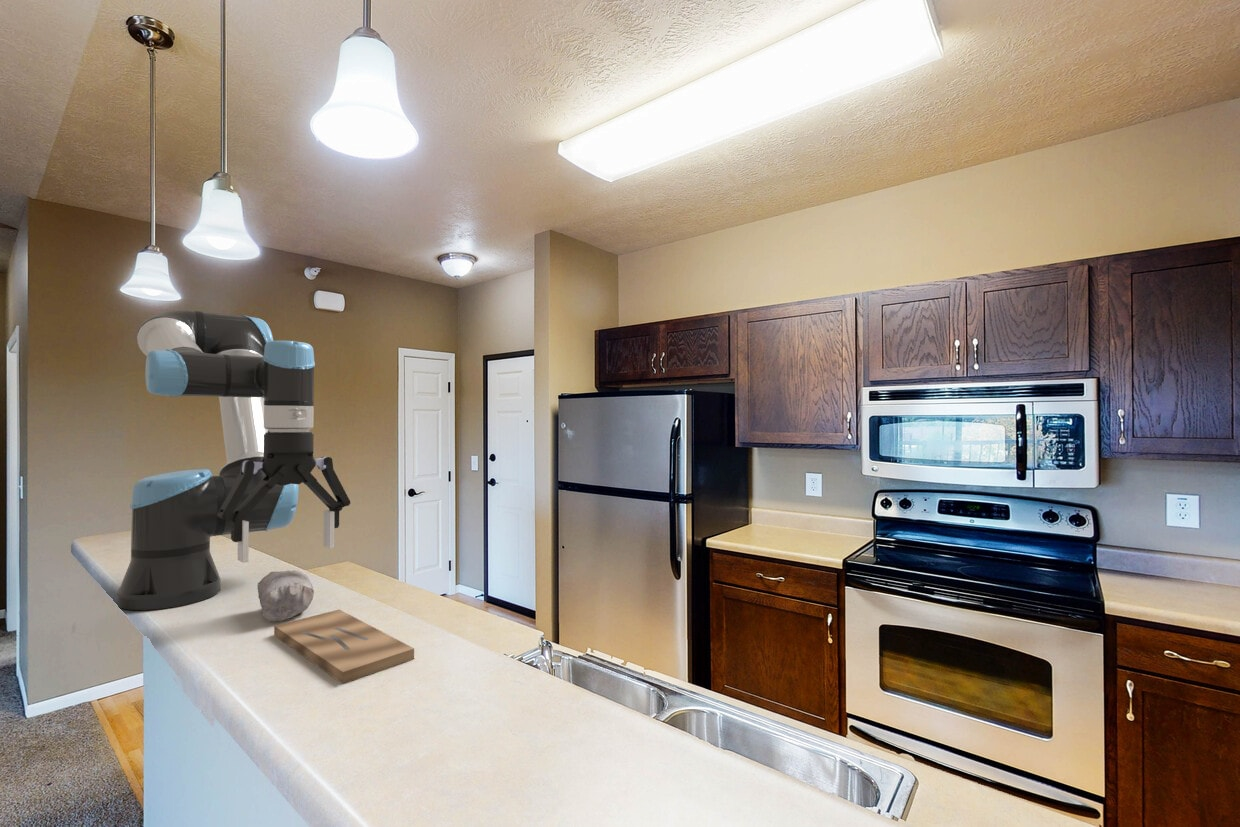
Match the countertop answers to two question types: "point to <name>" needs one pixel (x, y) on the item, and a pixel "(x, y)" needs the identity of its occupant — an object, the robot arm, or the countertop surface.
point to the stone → (284, 594)
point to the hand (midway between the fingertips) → (288, 553)
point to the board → (343, 645)
